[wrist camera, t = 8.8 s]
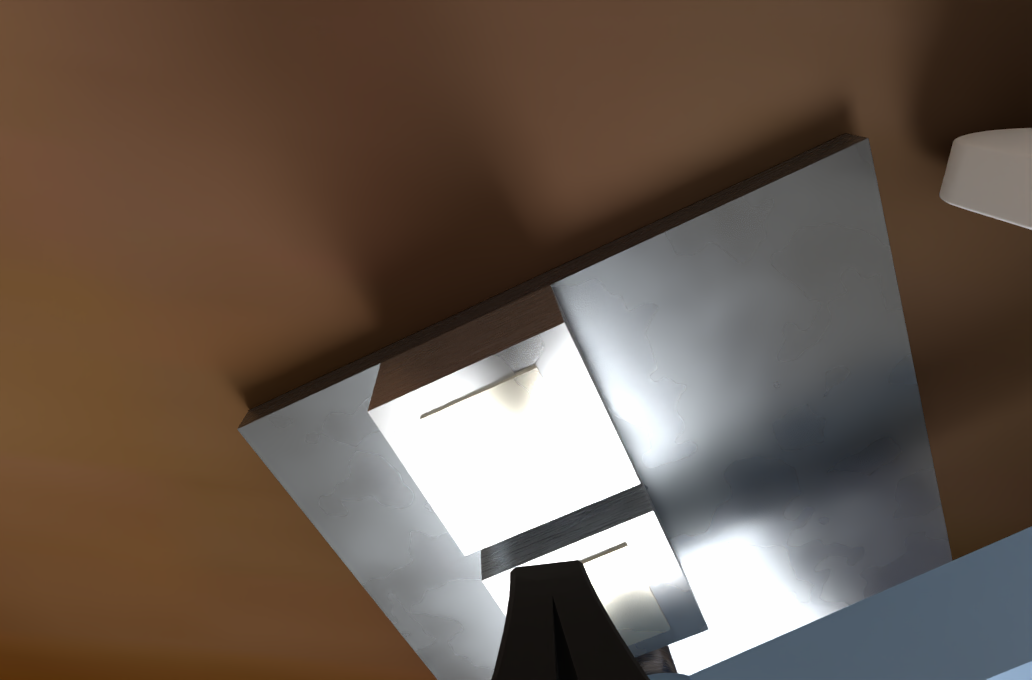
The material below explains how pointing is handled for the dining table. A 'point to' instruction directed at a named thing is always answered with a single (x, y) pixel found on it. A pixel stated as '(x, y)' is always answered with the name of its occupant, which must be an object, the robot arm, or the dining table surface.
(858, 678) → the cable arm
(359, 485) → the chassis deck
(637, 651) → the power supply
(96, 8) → the dining table surface
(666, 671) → the pivot post
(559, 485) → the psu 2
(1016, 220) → the cable organizer
